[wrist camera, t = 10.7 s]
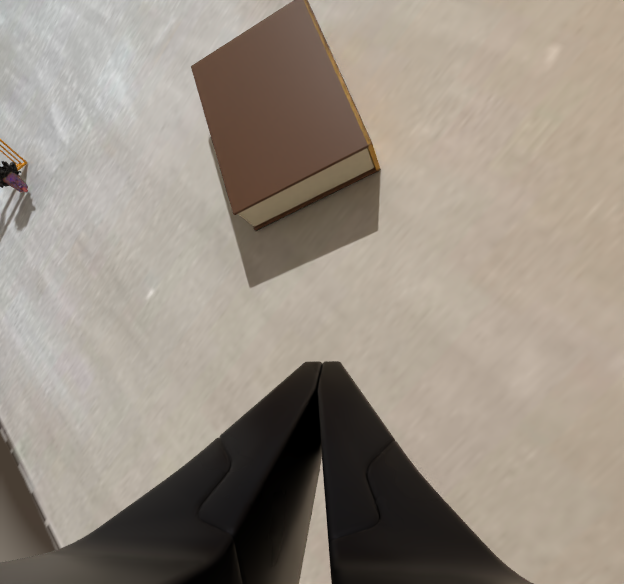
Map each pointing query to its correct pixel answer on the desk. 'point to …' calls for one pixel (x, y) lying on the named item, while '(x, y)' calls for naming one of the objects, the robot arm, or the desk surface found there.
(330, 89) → the book
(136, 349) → the desk surface
